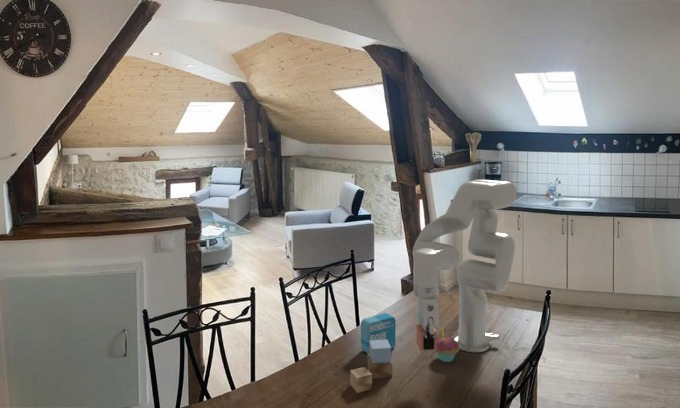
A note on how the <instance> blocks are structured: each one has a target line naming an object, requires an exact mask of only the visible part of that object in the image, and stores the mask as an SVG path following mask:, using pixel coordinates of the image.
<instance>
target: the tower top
mask: <svg viewBox="0 0 680 408" xmlns="http://www.w3.org/2000/svg"><path fill="white" fill-rule="evenodd" d="M369 355H370V358H371V361H372V364H374V363H390V362H391V361H392V349H391V346H390V344H389V342H388V340H387V339H386V340H369Z"/></svg>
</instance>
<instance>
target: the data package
mask: <svg viewBox="0 0 680 408" xmlns="http://www.w3.org/2000/svg"><path fill="white" fill-rule="evenodd" d="M396 321H397V320H396V318H395V316H393V315H390V314H389V313H386V312H384V313H380V314H377V315H372V316H369V317H365V318H363V319H362V320H361V321H360V348H361V350H362V351H363V352H365V353H366V354H367V355H368V354H369V340H386V339H387V340H388V342H389V344H390V346H391V350H392V349H393V348H395V347H396V327H397V326H396Z"/></svg>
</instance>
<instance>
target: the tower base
mask: <svg viewBox="0 0 680 408" xmlns="http://www.w3.org/2000/svg"><path fill="white" fill-rule="evenodd" d="M367 370H368V371H369V372H370V373H371V374H372V379H386V378H387V379H388V378H393V361H392V360H391V362H390V363H374V364H372V361H371V358H370V355H369V354H367Z"/></svg>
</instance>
